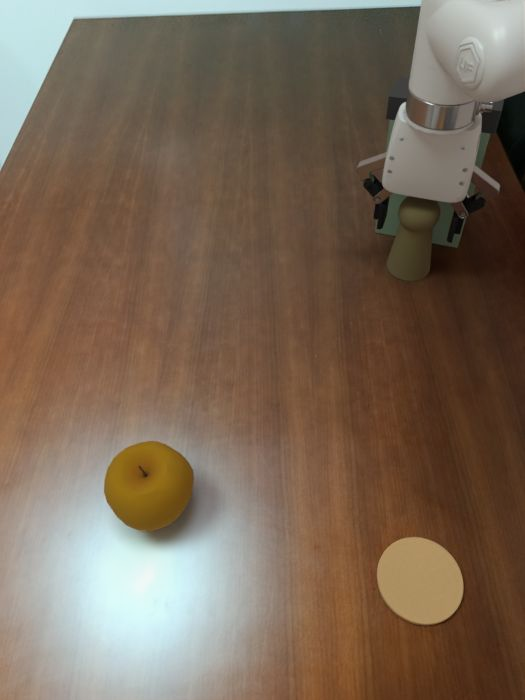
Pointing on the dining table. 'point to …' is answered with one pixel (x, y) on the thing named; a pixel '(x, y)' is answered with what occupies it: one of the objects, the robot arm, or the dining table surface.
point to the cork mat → (420, 581)
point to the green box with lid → (446, 209)
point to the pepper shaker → (413, 239)
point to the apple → (148, 485)
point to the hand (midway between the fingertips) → (415, 228)
